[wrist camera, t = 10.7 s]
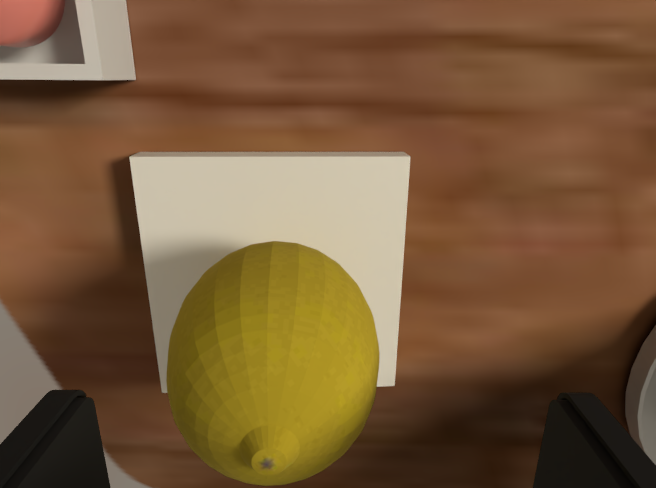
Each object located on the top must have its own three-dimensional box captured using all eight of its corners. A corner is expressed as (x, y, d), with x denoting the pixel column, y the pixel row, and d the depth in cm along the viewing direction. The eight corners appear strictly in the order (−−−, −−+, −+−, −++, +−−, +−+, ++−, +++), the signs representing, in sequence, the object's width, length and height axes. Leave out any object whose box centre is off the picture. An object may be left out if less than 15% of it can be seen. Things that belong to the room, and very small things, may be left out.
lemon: (256, 177, 15) (217, 284, 7) (389, 264, 16) (468, 429, 9) (171, 303, 16) (66, 502, 9) (300, 374, 18) (305, 596, 10)
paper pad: (403, 151, 16) (410, 156, 15) (389, 370, 19) (394, 386, 18) (139, 151, 15) (129, 157, 14) (168, 376, 18) (161, 392, 18)
